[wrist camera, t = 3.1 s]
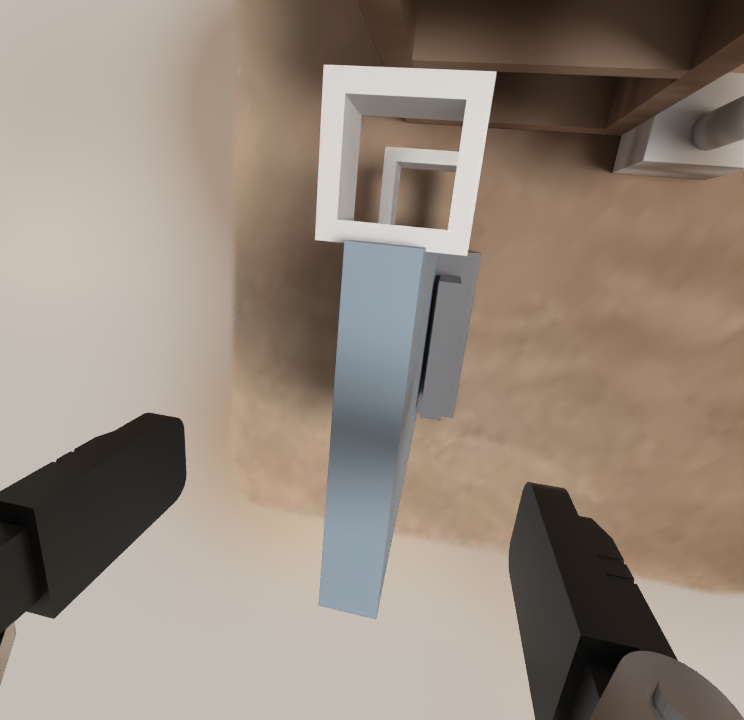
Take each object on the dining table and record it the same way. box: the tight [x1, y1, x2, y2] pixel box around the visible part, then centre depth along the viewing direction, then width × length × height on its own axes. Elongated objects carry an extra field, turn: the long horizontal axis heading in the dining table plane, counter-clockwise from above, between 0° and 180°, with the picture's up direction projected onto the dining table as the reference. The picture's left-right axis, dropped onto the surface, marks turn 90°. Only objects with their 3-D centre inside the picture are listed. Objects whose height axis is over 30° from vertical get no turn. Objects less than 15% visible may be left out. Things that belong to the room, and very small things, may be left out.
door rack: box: [417, 252, 481, 420], centre depth 26 cm, size 7×11×5 cm, turn 174°
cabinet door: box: [315, 65, 497, 619], centre depth 19 cm, size 4×16×16 cm, turn 175°
